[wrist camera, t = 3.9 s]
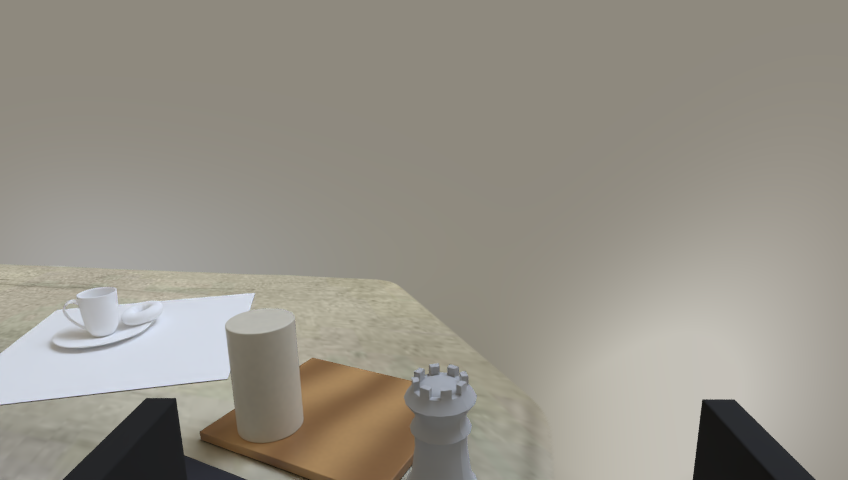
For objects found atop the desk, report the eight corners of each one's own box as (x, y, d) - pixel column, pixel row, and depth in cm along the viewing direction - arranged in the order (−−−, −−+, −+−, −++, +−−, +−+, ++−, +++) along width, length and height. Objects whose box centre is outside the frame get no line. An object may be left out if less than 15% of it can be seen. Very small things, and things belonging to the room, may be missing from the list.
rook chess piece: (508, 526, 25) (511, 375, 24) (444, 585, 22) (442, 416, 20) (440, 482, 29) (438, 345, 27) (376, 528, 25) (368, 378, 24)
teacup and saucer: (170, 313, 54) (165, 274, 53) (147, 346, 46) (140, 302, 45) (75, 321, 52) (67, 282, 51) (35, 357, 44) (25, 311, 43)
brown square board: (463, 400, 36) (463, 392, 36) (380, 505, 27) (379, 495, 27) (312, 364, 42) (312, 357, 42) (200, 440, 33) (199, 431, 33)
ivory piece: (316, 415, 34) (308, 313, 32) (273, 450, 31) (261, 338, 29) (269, 401, 36) (259, 304, 34) (223, 433, 32) (209, 326, 31)
